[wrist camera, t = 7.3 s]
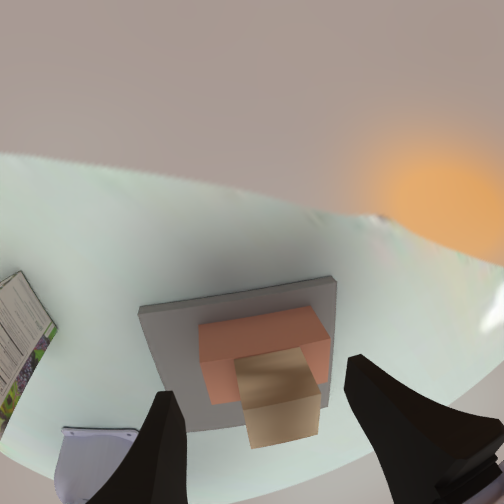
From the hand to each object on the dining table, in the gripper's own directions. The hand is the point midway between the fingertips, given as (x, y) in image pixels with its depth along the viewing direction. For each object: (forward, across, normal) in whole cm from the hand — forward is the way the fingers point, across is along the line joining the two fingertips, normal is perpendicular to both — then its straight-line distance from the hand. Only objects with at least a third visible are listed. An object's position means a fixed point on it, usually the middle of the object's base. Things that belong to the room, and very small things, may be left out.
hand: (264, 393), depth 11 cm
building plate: (+10, 0, +8) cm, 13 cm away
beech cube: (+5, -1, +5) cm, 7 cm away
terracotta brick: (+9, -1, +4) cm, 10 cm away
